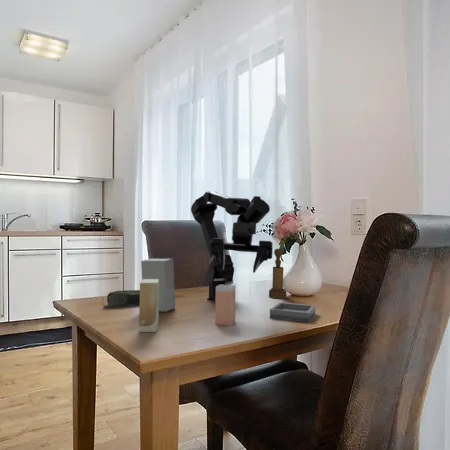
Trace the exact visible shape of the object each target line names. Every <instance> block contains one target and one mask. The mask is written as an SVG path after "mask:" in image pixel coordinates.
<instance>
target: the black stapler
mask: <svg viewBox="0 0 450 450" xmlns="http://www.w3.org/2000/svg"><path fill="white" fill-rule="evenodd" d="M106 302H107V304H106V305H103V309H105V307H106V308H116V306H118V307H126V306H128V307H131V306H140V289H131V290H123V289H122V290H115V291H110V292H108V294H107V298H106Z"/></svg>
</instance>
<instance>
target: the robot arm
mask: <svg viewBox="0 0 450 450" xmlns="http://www.w3.org/2000/svg"><path fill="white" fill-rule="evenodd" d="M218 207H221V208H223V209H225V212H226V213H227V214H228V215H230V216H237V220H236V222H232V223H233V224H232V230H231V231H232V236H231V241H232V242H225V238H224V237H223V238H222V237H221V238H219V235H218V231H217V229H216V227H215V223H214V218H215V214H216V213H215V212H216V211H217V210H218ZM270 210H271V209H270V205H269V204H268V203H267V202H266V201H265V200H264V199H261V196H258V195H255V196H253V197H252V199H251V201H250V199H249V198H247V197H246V198H241V197H232V196H228V195H225V194H222V193H220V192H218V191H212V190H211V191H209V190H208V191H205V192H204V193H203V195H202V196H199V197H198V198H196V199H195V201H194V202H193V203H192V204H191V206H190V212H191V213H192V214H191V215H192V217H193V220H195V221H196V222H197V223H198V224H199V226H200V228H201V231H202V234H203V237H204V241H205V244H206V247H207V250H208V253H209V257H210V260H209V262H208V270H207V271H206V273H205V275H204V281H205V282H206V283H208V297H206V300H209V301H216V286H218V285H220V284H223V285H229V283H231V282H233V278H234V274H235V266H234V262H233V260H232V256H231V255H230V254H226V251H235V252H241V253H243V252H244V253H256V255H255V259H254V264H253V267H252V268H253V269H252V270H253V271H252V273H253V274H255V273H256V271H257V270H258V268H259V267H260V265H262V264H263V263H264V262H265V261H266V262H267V261H268V260H271V259H273V253H274V251H273V249H274V248H273V242H272V241H271V240H259V241H258V244H253V236H254V235H256V233H257V224H259V223H260V222H261V221H262V219H264V218H265V217H266V216H267V215H268V213H269V212H270Z"/></svg>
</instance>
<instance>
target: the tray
mask: <svg viewBox="0 0 450 450" xmlns="http://www.w3.org/2000/svg"><path fill="white" fill-rule="evenodd" d="M315 315H316V305H314V304H313V305H311V304H302V303H291V302H290V303H289V302H282V301H281V302H278V303H277V304H275V305H274V306H273V307H271V308H270V309H269V318H270V319H276V320H285V321H296V322H305V323H309V322H310V321H312V318H313V317H314V316H315Z"/></svg>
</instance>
